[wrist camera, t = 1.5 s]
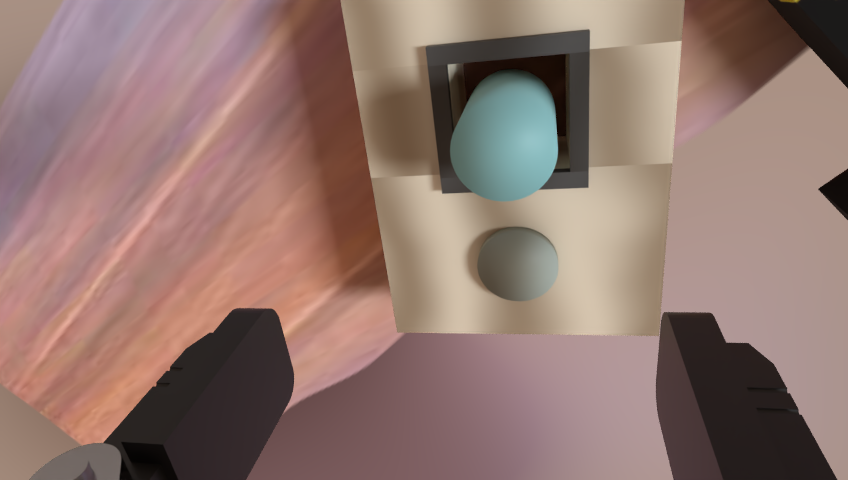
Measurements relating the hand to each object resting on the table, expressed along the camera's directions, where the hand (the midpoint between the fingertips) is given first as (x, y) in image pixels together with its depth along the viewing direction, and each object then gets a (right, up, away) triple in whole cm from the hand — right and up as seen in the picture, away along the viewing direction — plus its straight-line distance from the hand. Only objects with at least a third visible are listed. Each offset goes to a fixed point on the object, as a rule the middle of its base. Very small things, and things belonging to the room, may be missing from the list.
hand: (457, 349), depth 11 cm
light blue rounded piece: (+3, +8, +15) cm, 17 cm away
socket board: (+5, +7, +20) cm, 22 cm away
